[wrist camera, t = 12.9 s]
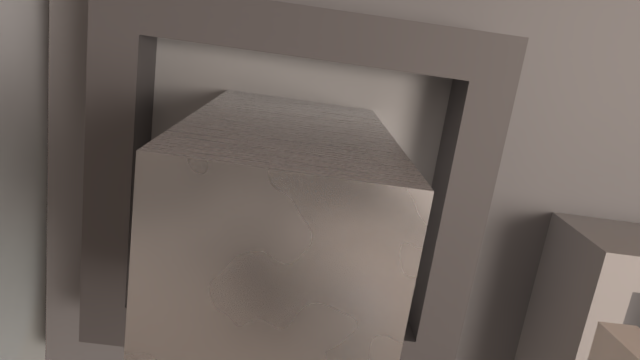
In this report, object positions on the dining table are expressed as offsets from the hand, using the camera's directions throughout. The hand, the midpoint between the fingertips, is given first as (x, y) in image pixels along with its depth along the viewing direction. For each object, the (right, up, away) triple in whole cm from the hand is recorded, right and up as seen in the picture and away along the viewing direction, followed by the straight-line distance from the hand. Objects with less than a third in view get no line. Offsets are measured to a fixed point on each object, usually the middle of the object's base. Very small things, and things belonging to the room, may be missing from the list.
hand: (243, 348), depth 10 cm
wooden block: (0, +3, +9) cm, 10 cm away
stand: (+5, +3, +12) cm, 14 cm away
